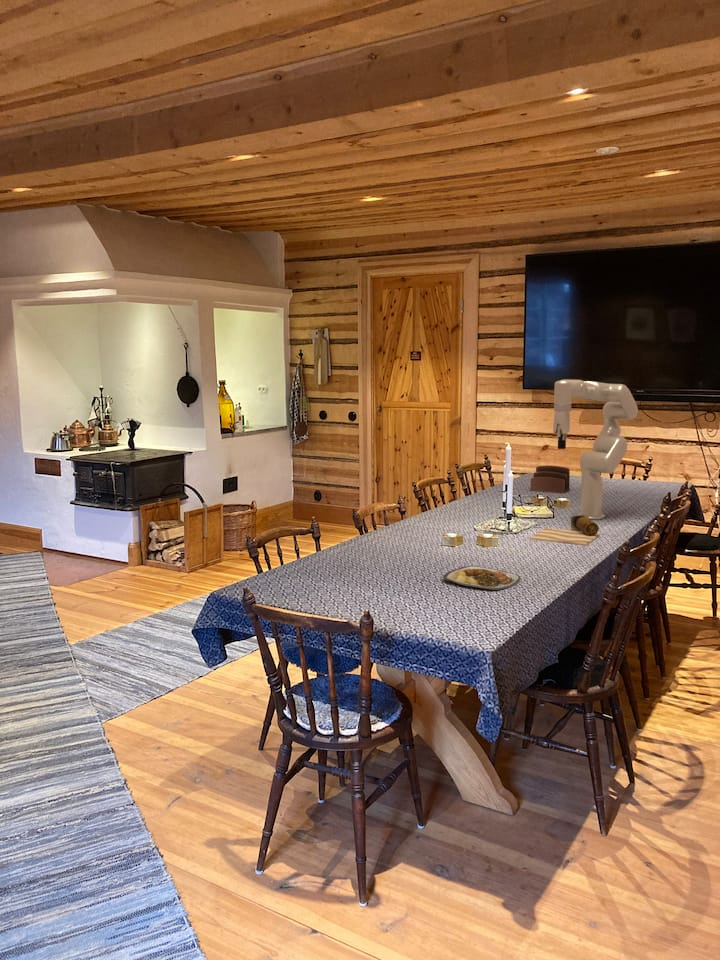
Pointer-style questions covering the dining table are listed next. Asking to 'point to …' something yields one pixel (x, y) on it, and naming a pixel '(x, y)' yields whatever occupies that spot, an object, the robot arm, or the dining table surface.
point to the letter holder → (551, 479)
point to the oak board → (564, 536)
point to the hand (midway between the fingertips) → (561, 448)
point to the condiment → (583, 524)
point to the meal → (482, 577)
